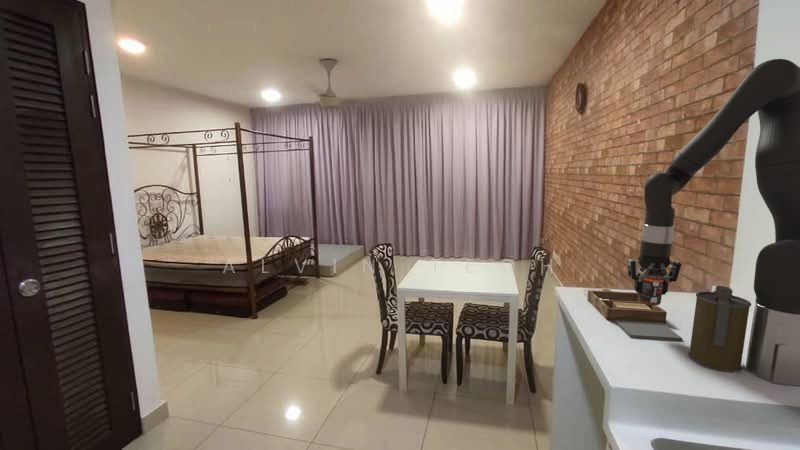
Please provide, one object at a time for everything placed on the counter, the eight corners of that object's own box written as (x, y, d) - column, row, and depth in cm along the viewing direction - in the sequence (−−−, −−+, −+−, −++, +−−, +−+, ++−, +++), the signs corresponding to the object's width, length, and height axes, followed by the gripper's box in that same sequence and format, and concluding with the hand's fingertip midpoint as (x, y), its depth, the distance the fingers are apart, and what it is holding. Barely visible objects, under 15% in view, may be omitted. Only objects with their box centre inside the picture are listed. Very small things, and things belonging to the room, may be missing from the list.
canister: (688, 347, 99) (696, 279, 96) (739, 360, 92) (750, 287, 89) (688, 364, 90) (697, 290, 87) (743, 378, 84) (756, 299, 81)
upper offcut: (650, 316, 116) (651, 309, 115) (617, 313, 118) (618, 307, 118) (644, 310, 120) (645, 304, 120) (612, 308, 123) (612, 301, 122)
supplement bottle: (660, 307, 104) (665, 271, 102) (636, 303, 108) (640, 267, 106) (660, 301, 109) (665, 266, 107) (637, 297, 112) (641, 263, 110)
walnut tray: (665, 323, 114) (666, 312, 114) (607, 320, 117) (608, 308, 117) (637, 302, 132) (638, 292, 132) (587, 300, 135) (588, 290, 134)
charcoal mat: (682, 340, 103) (682, 338, 103) (630, 337, 105) (630, 334, 105) (661, 324, 113) (661, 322, 113) (614, 321, 116) (614, 319, 116)
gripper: (636, 241, 102) (630, 296, 105) (691, 243, 100) (683, 299, 103) (624, 236, 110) (619, 287, 112) (676, 238, 107) (669, 290, 110)
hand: (650, 293), depth 108 cm, fingers closed on supplement bottle, 6 cm apart
